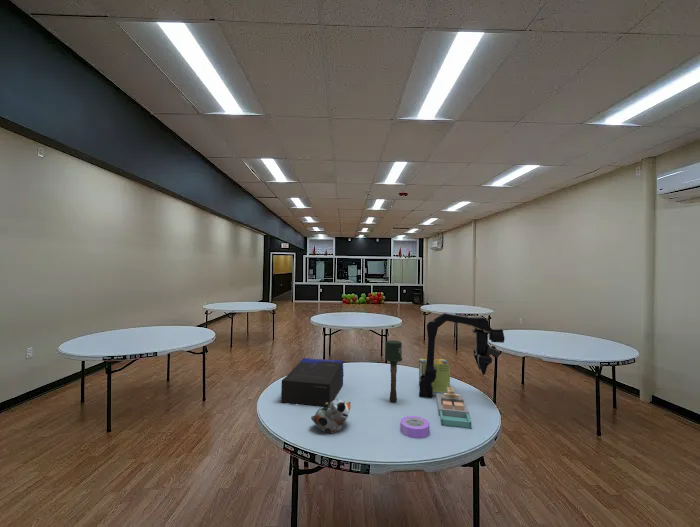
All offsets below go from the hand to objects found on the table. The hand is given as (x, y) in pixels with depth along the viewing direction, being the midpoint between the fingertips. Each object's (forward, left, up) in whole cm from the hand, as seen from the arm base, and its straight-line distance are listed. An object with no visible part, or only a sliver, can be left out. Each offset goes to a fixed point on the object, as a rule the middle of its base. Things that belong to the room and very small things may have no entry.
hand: (481, 372), depth 161 cm
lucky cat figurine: (-67, -46, -15) cm, 83 cm away
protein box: (-23, +12, -15) cm, 30 cm away
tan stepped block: (-16, -12, -12) cm, 23 cm away
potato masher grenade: (-44, -13, -15) cm, 49 cm away
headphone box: (-86, -11, -15) cm, 88 cm away
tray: (-16, -29, -15) cm, 36 cm away
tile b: (-14, -21, -12) cm, 27 cm away
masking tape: (-33, -41, -15) cm, 55 cm away
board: (-16, -14, -15) cm, 26 cm away
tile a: (-19, -21, -12) cm, 30 cm away
